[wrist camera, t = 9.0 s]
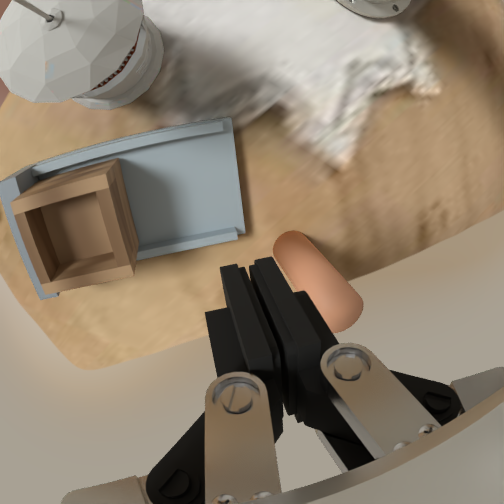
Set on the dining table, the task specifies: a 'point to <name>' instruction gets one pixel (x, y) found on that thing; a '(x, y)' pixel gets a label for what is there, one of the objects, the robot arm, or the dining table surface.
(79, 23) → the french press
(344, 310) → the dowel
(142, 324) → the dining table surface
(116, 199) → the square wooden box
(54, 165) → the rail
